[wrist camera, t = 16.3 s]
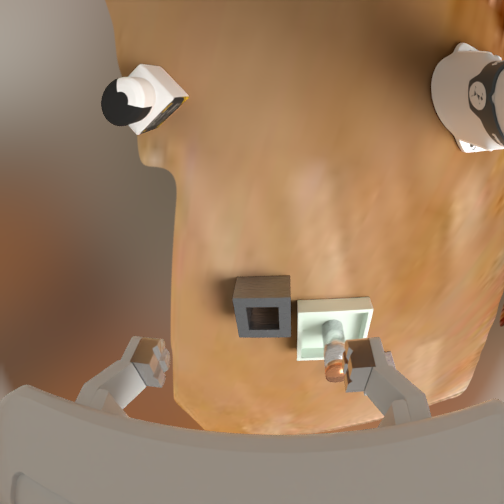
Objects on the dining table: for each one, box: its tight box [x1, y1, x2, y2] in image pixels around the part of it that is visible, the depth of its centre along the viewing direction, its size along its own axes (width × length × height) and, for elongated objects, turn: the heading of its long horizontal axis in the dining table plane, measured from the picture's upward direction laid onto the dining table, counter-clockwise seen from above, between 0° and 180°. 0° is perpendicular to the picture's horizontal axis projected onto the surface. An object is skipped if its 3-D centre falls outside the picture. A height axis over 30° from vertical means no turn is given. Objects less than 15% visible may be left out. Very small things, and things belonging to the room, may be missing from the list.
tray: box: [297, 297, 373, 361], centre depth 55 cm, size 14×14×4 cm
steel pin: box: [321, 320, 345, 382], centre depth 51 cm, size 4×4×12 cm
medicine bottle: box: [101, 64, 189, 135], centre depth 32 cm, size 7×7×12 cm
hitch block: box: [232, 276, 291, 337], centre depth 52 cm, size 9×9×6 cm
